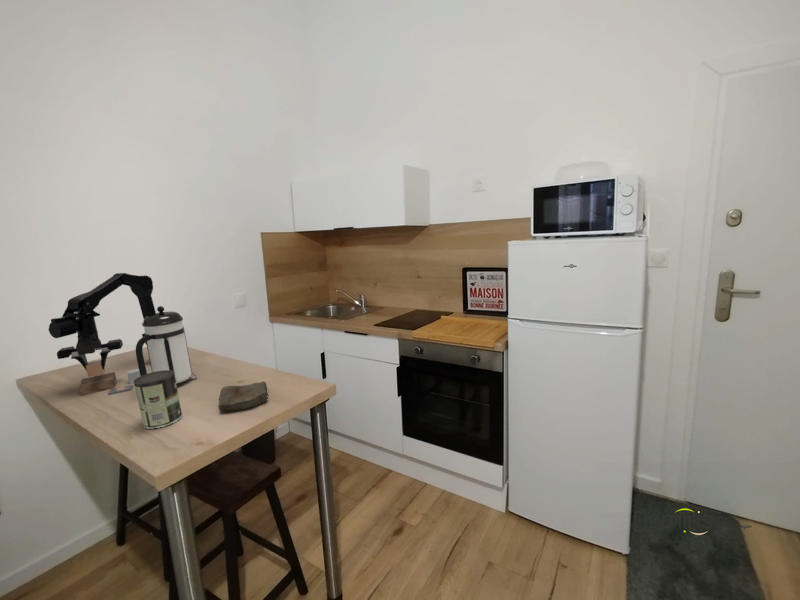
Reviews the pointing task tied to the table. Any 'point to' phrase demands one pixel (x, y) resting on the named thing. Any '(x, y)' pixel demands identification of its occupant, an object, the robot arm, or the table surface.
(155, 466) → the table surface
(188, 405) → the table surface
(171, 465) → the table surface
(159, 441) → the table surface
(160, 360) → the coffee press
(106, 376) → the walnut block
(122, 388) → the card
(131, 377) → the grey cube
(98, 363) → the terracotta cube
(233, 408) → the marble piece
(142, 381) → the coffee can
